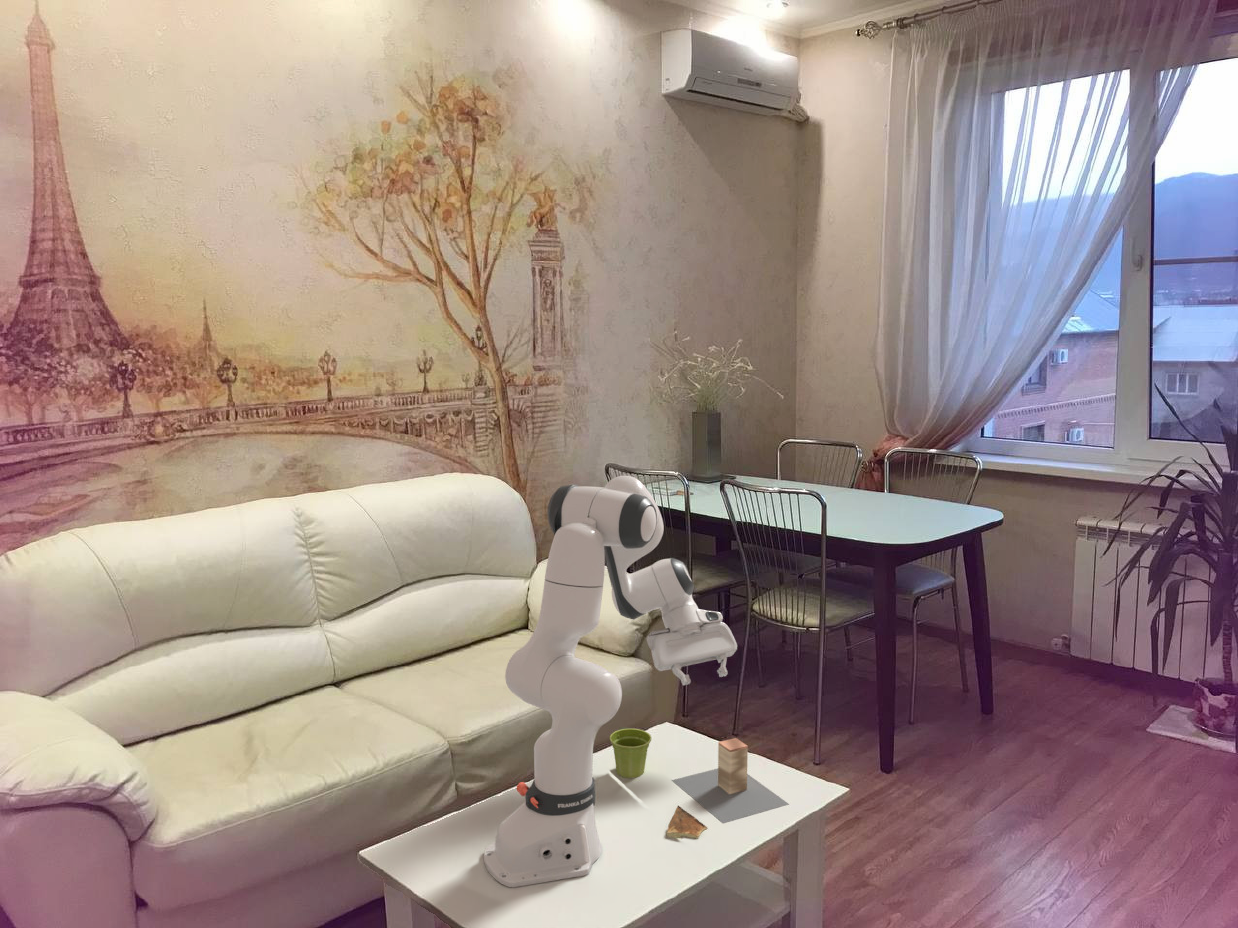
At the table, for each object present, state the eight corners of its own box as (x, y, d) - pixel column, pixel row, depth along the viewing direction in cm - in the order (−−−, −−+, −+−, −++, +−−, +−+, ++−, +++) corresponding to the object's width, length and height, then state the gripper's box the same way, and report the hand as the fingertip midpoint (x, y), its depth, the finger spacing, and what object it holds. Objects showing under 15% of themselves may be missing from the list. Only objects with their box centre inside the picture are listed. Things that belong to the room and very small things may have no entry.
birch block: (729, 794, 202) (730, 750, 200) (718, 785, 205) (718, 741, 204) (746, 789, 204) (747, 745, 202) (735, 780, 208) (735, 737, 206)
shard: (677, 811, 197) (677, 803, 196) (713, 817, 194) (714, 809, 194) (665, 838, 186) (665, 830, 186) (703, 844, 184) (703, 836, 184)
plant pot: (659, 770, 214) (659, 734, 213) (637, 787, 206) (637, 750, 205) (624, 760, 219) (623, 725, 218) (601, 776, 211) (601, 740, 210)
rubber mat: (723, 825, 190) (722, 823, 190) (671, 782, 208) (671, 780, 208) (789, 806, 197) (789, 803, 197) (734, 766, 215) (734, 764, 215)
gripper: (647, 626, 213) (668, 683, 206) (727, 611, 221) (749, 665, 214) (640, 639, 218) (660, 694, 211) (718, 623, 226) (739, 676, 219)
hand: (705, 679), depth 212 cm, fingers open, 8 cm apart
